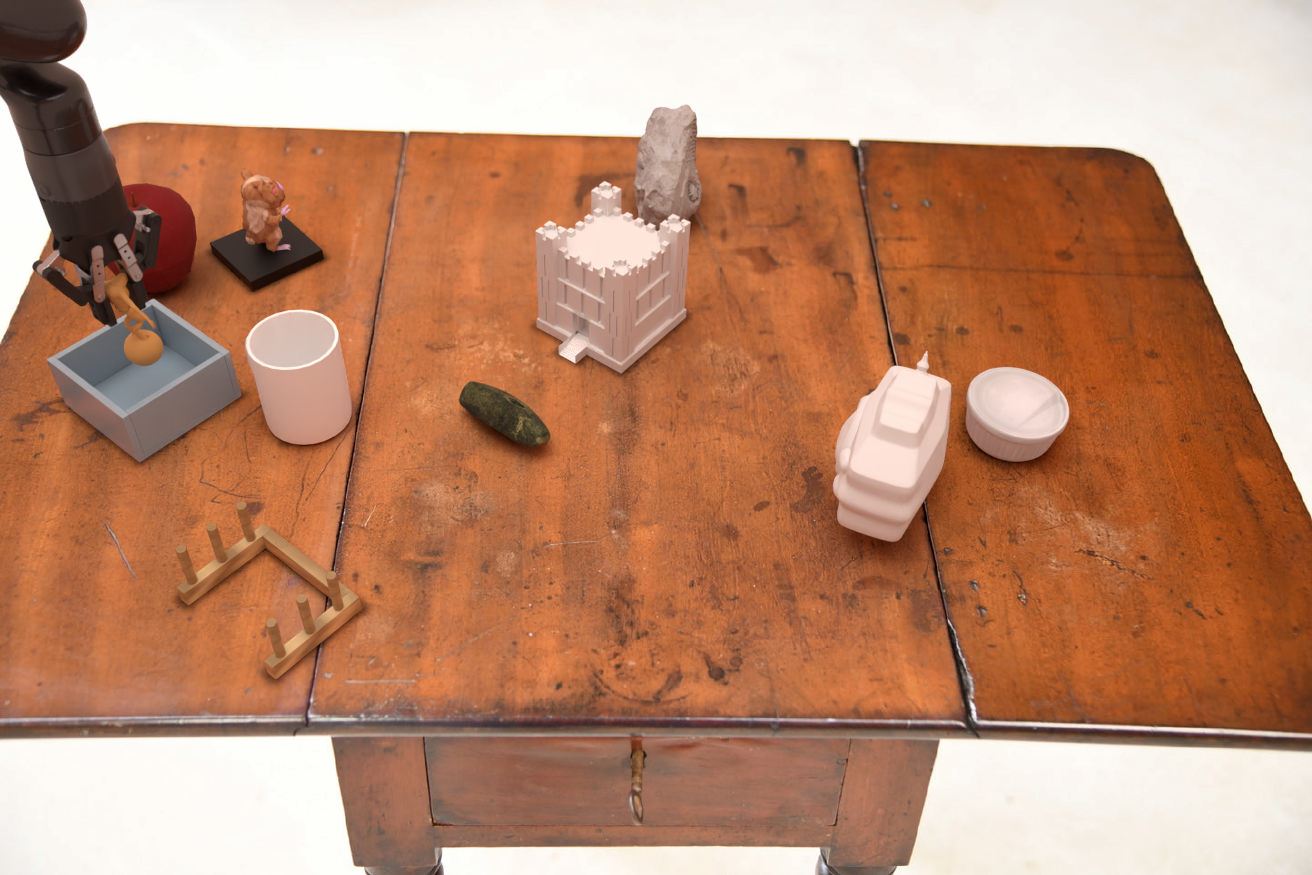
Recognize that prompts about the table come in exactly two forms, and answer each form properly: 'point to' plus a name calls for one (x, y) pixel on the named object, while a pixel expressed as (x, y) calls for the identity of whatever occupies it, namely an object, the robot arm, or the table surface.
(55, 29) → the robot arm
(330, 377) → the mug
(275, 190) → the figurine
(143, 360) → the figurine
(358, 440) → the table surface
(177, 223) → the apple
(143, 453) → the light blue open box
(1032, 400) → the ramekin
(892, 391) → the white tiered block
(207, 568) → the drying rack
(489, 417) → the decorative stone
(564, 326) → the castle model
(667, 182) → the fossil
